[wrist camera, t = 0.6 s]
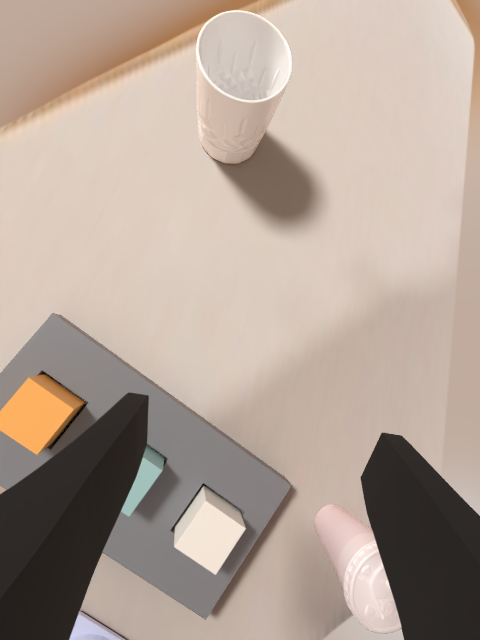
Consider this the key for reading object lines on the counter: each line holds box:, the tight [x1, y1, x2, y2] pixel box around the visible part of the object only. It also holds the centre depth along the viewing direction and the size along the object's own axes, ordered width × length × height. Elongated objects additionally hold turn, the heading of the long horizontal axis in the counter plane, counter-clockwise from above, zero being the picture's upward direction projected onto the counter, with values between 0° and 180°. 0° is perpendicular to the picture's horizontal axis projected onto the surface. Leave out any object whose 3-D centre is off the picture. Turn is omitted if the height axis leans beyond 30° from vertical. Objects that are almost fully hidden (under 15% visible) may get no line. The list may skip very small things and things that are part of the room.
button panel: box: [0, 313, 291, 620], centre depth 30 cm, size 14×28×2 cm, turn 53°
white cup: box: [196, 10, 293, 164], centre depth 31 cm, size 8×8×10 cm
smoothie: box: [315, 505, 402, 634], centre depth 27 cm, size 6×6×14 cm
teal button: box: [121, 446, 164, 516], centre depth 28 cm, size 4×4×3 cm
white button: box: [174, 485, 246, 575], centre depth 29 cm, size 4×4×3 cm
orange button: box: [0, 374, 85, 455], centre depth 28 cm, size 4×4×3 cm
